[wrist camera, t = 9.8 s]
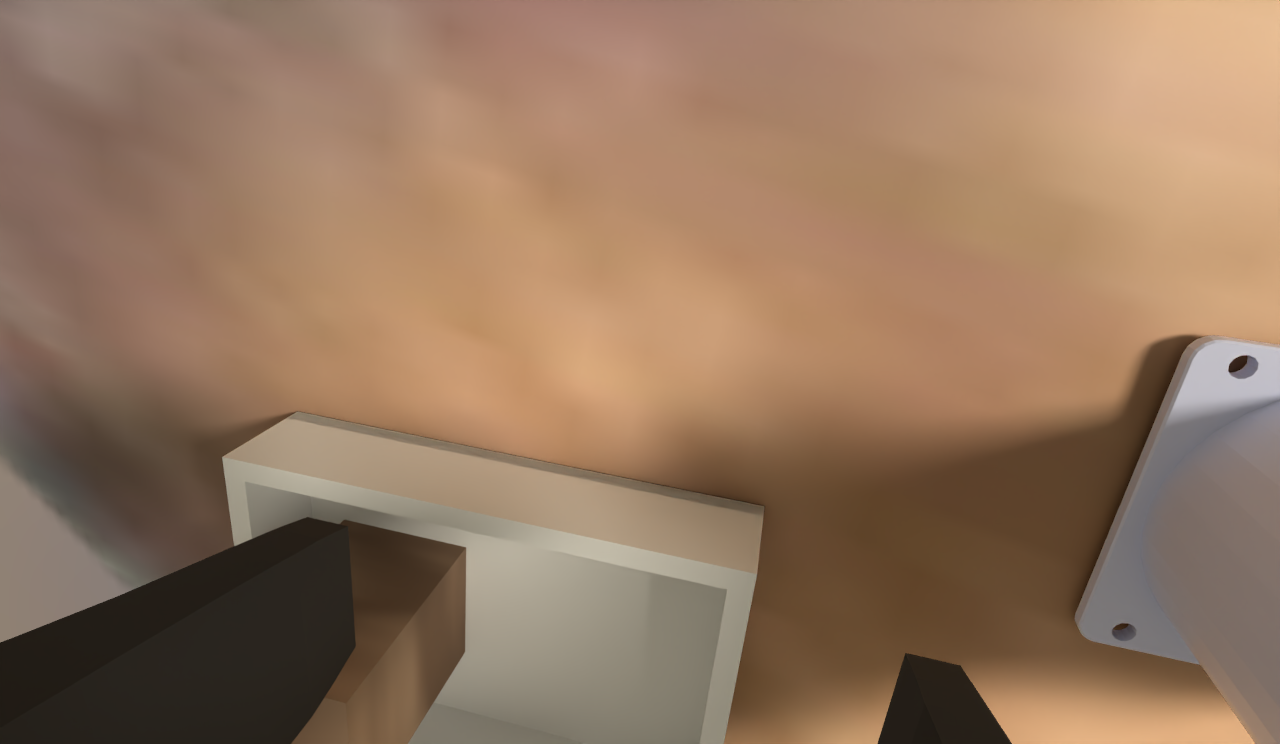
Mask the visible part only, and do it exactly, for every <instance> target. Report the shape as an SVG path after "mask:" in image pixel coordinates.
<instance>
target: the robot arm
mask: <svg viewBox="0 0 1280 744" xmlns="http://www.w3.org/2000/svg"><path fill="white" fill-rule="evenodd" d="M1243 355H1247V356H1248V359H1247V364H1246V365H1245V366H1244V367H1243V368H1242V369H1241V370H1238V371H1236V372H1228V369H1229V364H1230V363H1231V362H1232V361H1233V359H1235V358H1237V357H1239V356H1243ZM1075 622H1076V625H1077V627H1078V629H1079V631H1080V633H1081V634H1082V635H1083V636H1084V637H1085V638H1086V639H1088V640H1091V641H1093V642H1097V643H1102V644H1106V645H1111V646H1115V647H1120V648H1125V649H1129V650H1134V651H1138V652H1143V653H1148V654H1152V655H1157V656H1161V657H1166V658H1171V659H1175V660H1180V661H1184V662H1189V663H1194V664H1198V665H1201V666H1202V668H1203V669H1204V670H1205V672H1206V673H1207V675H1208V676H1209V678H1210V679H1211V681H1212V682H1213V683H1214V685H1215V686H1216V688H1217V689H1218V691H1219V692H1220V693H1221V695H1222V696H1223V698H1224V699H1225V701H1226V702H1227V704H1228V705H1229V706H1230V708H1231V709H1232V711H1233V712H1234V714H1235V715H1236V716H1237V718H1238V719H1239V721H1240V722H1241V724H1242V725H1243V727H1244V728H1245V729H1246V731H1247V732H1248V734H1249V735H1250V737H1251V738H1252V739H1253V741H1254V742H1255V744H1280V345H1278V344H1271V343H1265V342H1258V341H1251V340H1244V339H1238V338H1231V337H1224V336H1205V337H1202V338H1199V339H1196V340H1195V341H1193V342H1192V343H1191V344H1189V345H1188V346H1187V348H1186V349H1185V351H1184V352H1183V354H1182V356H1181V358H1180V361H1179V363H1178V366H1177V368H1176V371H1175V373H1174V375H1173V378H1172V380H1171V383H1170V385H1169V388H1168V390H1167V392H1166V395H1165V397H1164V400H1163V402H1162V405H1161V407H1160V409H1159V412H1158V414H1157V417H1156V419H1155V421H1154V424H1153V426H1152V429H1151V431H1150V434H1149V436H1148V438H1147V441H1146V443H1145V446H1144V448H1143V451H1142V453H1141V455H1140V458H1139V460H1138V463H1137V465H1136V468H1135V470H1134V472H1133V475H1132V477H1131V480H1130V482H1129V485H1128V487H1127V489H1126V492H1125V494H1124V497H1123V499H1122V502H1121V504H1120V506H1119V509H1118V511H1117V514H1116V516H1115V519H1114V521H1113V523H1112V526H1111V528H1110V531H1109V533H1108V536H1107V538H1106V540H1105V543H1104V545H1103V548H1102V550H1101V553H1100V555H1099V557H1098V560H1097V562H1096V565H1095V567H1094V570H1093V572H1092V574H1091V577H1090V579H1089V582H1088V584H1087V587H1086V589H1085V591H1084V594H1083V596H1082V599H1081V601H1080V604H1079V606H1078V608H1077V611H1076V613H1075ZM1121 623H1128V624H1129V625H1128V626H1127V627H1126V628H1124V629H1121V630H1113V628H1114V627H1115V626H1116V625H1119V624H1121ZM355 647H356V641H355V626H354V610H353V594H352V578H351V563H350V547H349V531H348V526H345V525H341V524H336V523H332V522H327V521H323V520H319V519H314V518H310V517H306V518H303V519H301V520H298V521H295V522H292V523H289V524H287V525H284V526H282V527H279V528H277V529H274V530H272V531H269V532H267V533H264V534H262V535H260V536H257V537H255V538H253V539H250V540H248V541H246V542H243V543H241V544H239V545H236V546H234V547H232V548H229V549H227V550H225V551H222V552H220V553H218V554H215V555H213V556H211V557H209V558H206V559H204V560H202V561H199V562H197V563H195V564H192V565H190V566H188V567H185V568H183V569H181V570H178V571H176V572H174V573H171V574H169V575H167V576H164V577H162V578H160V579H157V580H155V581H153V582H150V583H148V584H146V585H143V586H141V587H139V588H136V589H134V590H132V591H129V592H127V593H125V594H122V595H120V596H118V597H115V598H113V599H110V600H107V601H105V602H103V603H100V604H97V605H95V606H92V607H90V608H87V609H85V610H83V611H80V612H77V613H75V614H72V615H70V616H67V617H64V618H62V619H59V620H57V621H54V622H52V623H50V624H47V625H44V626H42V627H39V628H37V629H34V630H32V631H29V632H27V633H24V634H22V635H19V636H17V637H14V638H12V639H9V640H6V641H4V642H1V643H0V744H291V743H292V742H293V741H294V739H295V738H296V737H297V736H298V734H299V733H300V732H301V730H302V729H303V728H304V727H305V725H306V724H307V723H308V721H309V720H310V719H311V718H312V716H313V714H314V713H315V711H316V710H317V708H318V707H319V705H320V704H321V702H322V701H323V699H324V697H325V696H326V694H327V693H328V691H329V690H330V688H331V687H332V685H333V683H334V682H335V680H336V678H337V677H338V675H339V673H340V672H341V670H342V668H343V667H344V665H345V663H346V662H347V660H348V658H349V657H350V655H351V653H352V652H353V650H354V648H355ZM878 744H1012V743H1011V742H1010V740H1009V738H1008V737H1007V735H1006V734H1005V732H1004V731H1003V729H1002V728H1001V726H1000V725H999V723H998V722H997V720H996V719H995V717H994V716H993V714H992V713H991V711H990V710H989V708H988V707H987V705H986V703H985V702H984V700H983V699H982V697H981V696H980V694H979V693H978V691H977V690H976V688H975V687H974V685H973V684H972V682H971V681H970V679H969V678H968V676H967V675H966V673H965V672H964V671H963V669H962V668H961V666H960V665H955V664H951V663H946V662H942V661H938V660H933V659H929V658H924V657H920V656H916V655H911V654H907V653H905V657H904V660H903V663H902V666H901V670H900V673H899V676H898V679H897V683H896V686H895V689H894V692H893V696H892V699H891V702H890V705H889V708H888V712H887V715H886V718H885V721H884V725H883V728H882V731H881V734H880V738H879V741H878Z"/></svg>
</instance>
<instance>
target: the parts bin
mask: <svg viewBox="0 0 1280 744" xmlns="http://www.w3.org/2000/svg"><path fill="white" fill-rule="evenodd" d="M222 460H223V467H224V475H225V482H226V489H227V497H228V504H229V511H230V519H231V526H232V533H233V541H234V546H236V545H239V544H241V543H243V542H246V541H248V540H250V539H253V538H255V537H257V536H260V535H262V534H264V533H267V532H269V531H272V530H274V529H277V528H279V527H282V526H284V525H287V524H289V523H292V522H295V521H298V520H301V519H303V518H306V517H310V518H314V519H319V520H323V521H327V522H332V523H336V524H340V523H341V522H342V521H343V520H349V521H353V522H358V523H362V524H366V525H371V526H375V527H379V528H384V529H388V530H393V531H397V532H401V533H406V534H410V535H414V536H419V537H423V538H428V539H432V540H436V541H441V542H445V543H450V544H454V545H458V546H463V547H466V620H465V653H464V655H463V656H462V658H461V659H460V661H459V663H458V664H457V666H456V667H455V669H454V671H453V672H452V674H451V675H450V677H449V679H448V680H447V682H446V683H445V685H444V687H443V688H442V690H441V691H440V693H439V695H438V696H437V698H436V699H435V701H434V703H433V704H432V706H431V707H430V709H429V711H428V712H427V714H426V715H425V717H424V719H423V720H422V722H421V723H420V725H419V727H418V728H417V730H416V731H415V733H414V735H413V736H412V738H411V739H410V741H409V743H408V744H724V740H725V735H726V730H727V725H728V720H729V715H730V709H731V704H732V699H733V694H734V689H735V684H736V679H737V674H738V669H739V664H740V659H741V654H742V649H743V644H744V638H745V633H746V628H747V623H748V618H749V613H750V608H751V603H752V598H753V593H754V588H755V583H756V578H757V571H758V562H759V553H760V544H761V535H762V526H763V517H764V507H765V506H761V505H756V504H751V503H746V502H741V501H736V500H731V499H726V498H721V497H716V496H711V495H706V494H702V493H697V492H692V491H687V490H682V489H677V488H672V487H667V486H662V485H657V484H652V483H647V482H642V481H638V480H633V479H628V478H623V477H618V476H613V475H608V474H603V473H598V472H593V471H588V470H583V469H578V468H573V467H569V466H564V465H559V464H554V463H549V462H544V461H539V460H534V459H529V458H524V457H519V456H514V455H509V454H505V453H500V452H495V451H490V450H485V449H480V448H475V447H470V446H465V445H460V444H455V443H450V442H445V441H440V440H436V439H431V438H426V437H421V436H416V435H411V434H406V433H401V432H396V431H391V430H386V429H381V428H376V427H371V426H367V425H362V424H357V423H352V422H347V421H342V420H337V419H332V418H327V417H322V416H317V415H312V414H307V413H303V412H298V411H297V412H296V413H294V414H292V415H291V416H289V417H287V418H286V419H284V420H282V421H281V422H279V423H278V424H276V425H274V426H273V427H271V428H269V429H268V430H266V431H264V432H263V433H261V434H259V435H258V436H256V437H254V438H253V439H251V440H249V441H248V442H246V443H244V444H243V445H241V446H239V447H238V448H236V449H235V450H233V451H231V452H230V453H228V454H226V455H225V456H223V457H222Z"/></svg>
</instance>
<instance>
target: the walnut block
mask: <svg viewBox="0 0 1280 744" xmlns="http://www.w3.org/2000/svg"><path fill="white" fill-rule="evenodd" d="M340 524H341V525H345V526H348V531H349V547H350V563H351V578H352V594H353V610H354V626H355V641H356V647H355V648H354V650H353V652H352V653H351V655H350V657H349V658H348V660H347V662H346V663H345V665H344V667H343V668H342V670H341V672H340V673H339V675H338V677H337V678H336V680H335V682H334V683H333V685H332V687H331V688H330V690H329V691H328V693H327V694H326V696H325V697H324V699H323V701H322V702H321V704H320V705H319V707H318V708H317V710H316V711H315V713H314V714H313V716H312V718H311V719H310V720H309V721H308V723H307V724H306V725H305V727H304V728H303V729H302V730H301V732H300V733H299V734H298V736H297V737H296V738H295V739H294V741H293V742H292V743H291V744H408V743H409V741H410V739H411V738H412V736H413V735H414V733H415V731H416V730H417V728H418V727H419V725H420V723H421V722H422V720H423V719H424V717H425V715H426V714H427V712H428V711H429V709H430V707H431V706H432V704H433V703H434V701H435V699H436V698H437V696H438V695H439V693H440V691H441V690H442V688H443V687H444V685H445V683H446V682H447V680H448V679H449V677H450V675H451V674H452V672H453V671H454V669H455V667H456V666H457V664H458V663H459V661H460V659H461V658H462V656H463V655H464V653H465V620H466V547H463V546H458V545H454V544H450V543H445V542H441V541H436V540H432V539H428V538H423V537H419V536H414V535H410V534H406V533H401V532H397V531H393V530H388V529H384V528H379V527H375V526H371V525H366V524H362V523H358V522H353V521H349V520H343V521H342V522H341V523H340Z"/></svg>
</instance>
